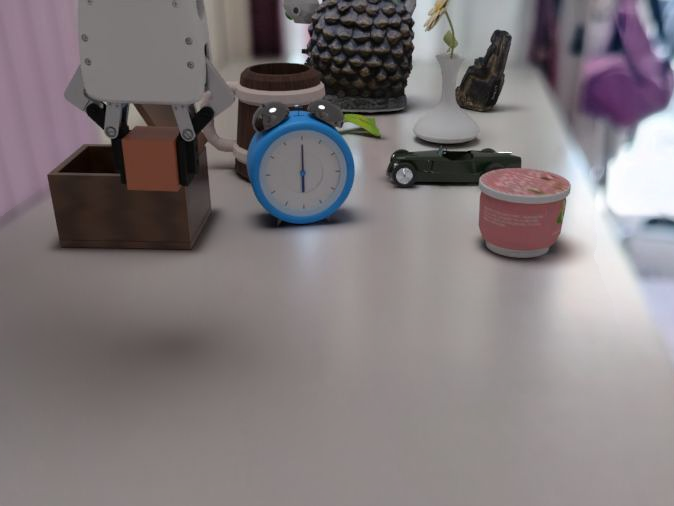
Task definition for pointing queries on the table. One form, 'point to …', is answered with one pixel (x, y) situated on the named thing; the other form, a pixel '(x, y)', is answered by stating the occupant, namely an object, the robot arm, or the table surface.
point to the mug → (264, 101)
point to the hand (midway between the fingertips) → (158, 178)
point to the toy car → (447, 165)
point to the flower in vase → (446, 94)
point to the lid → (163, 118)
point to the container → (521, 210)
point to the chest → (124, 205)
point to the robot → (301, 15)
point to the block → (151, 158)
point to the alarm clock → (300, 161)
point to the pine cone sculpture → (363, 52)
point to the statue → (485, 75)
